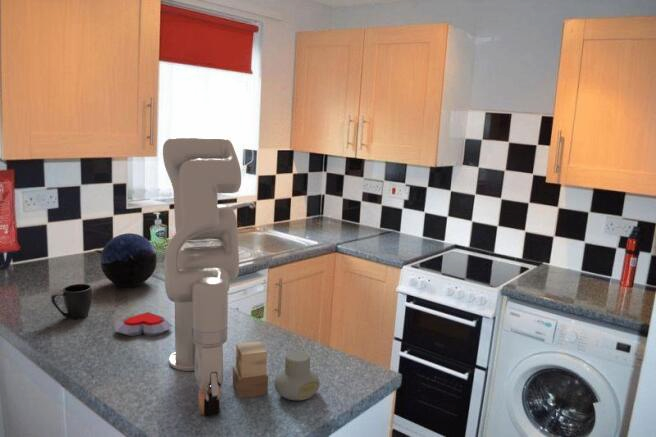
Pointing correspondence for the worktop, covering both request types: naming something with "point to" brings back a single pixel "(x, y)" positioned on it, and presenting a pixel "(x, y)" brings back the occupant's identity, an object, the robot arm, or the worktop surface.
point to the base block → (249, 385)
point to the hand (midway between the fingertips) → (209, 407)
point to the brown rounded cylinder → (201, 400)
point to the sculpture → (143, 325)
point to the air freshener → (297, 378)
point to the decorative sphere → (128, 259)
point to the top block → (251, 359)
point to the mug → (75, 301)
